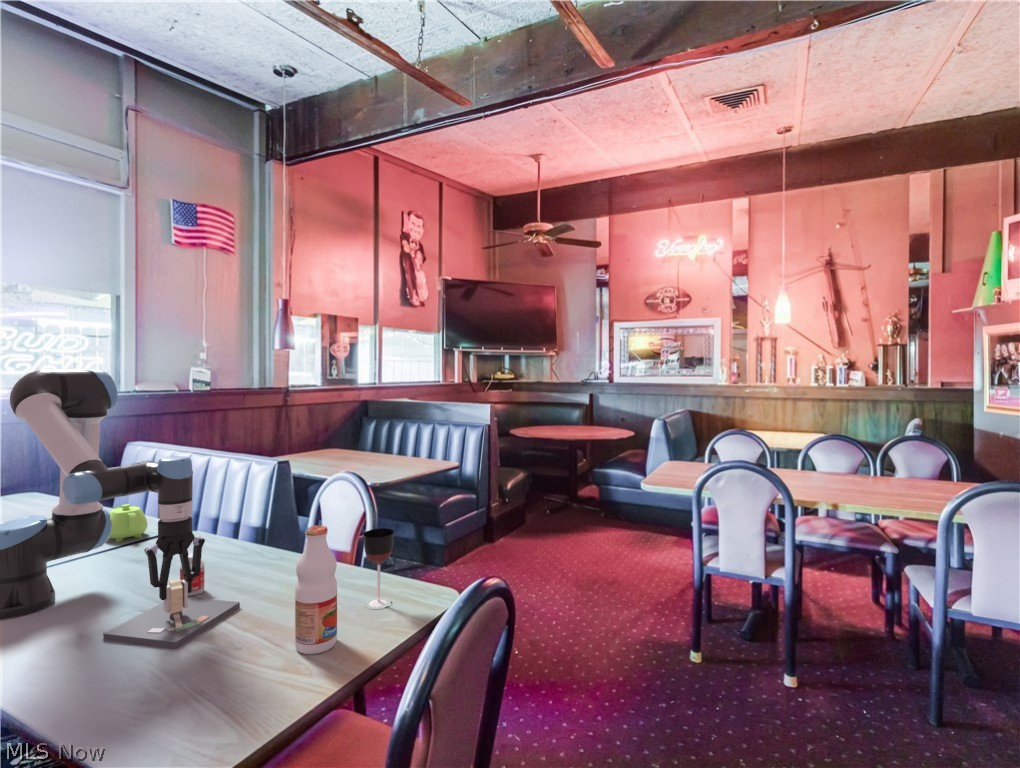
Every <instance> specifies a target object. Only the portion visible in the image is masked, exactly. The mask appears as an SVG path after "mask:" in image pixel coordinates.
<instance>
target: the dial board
mask: <svg viewBox="0 0 1020 768" xmlns="http://www.w3.org/2000/svg"><path fill="white" fill-rule="evenodd" d="M240 607H241V603H240V601H232V600H231V601H230V600H221V599H213V598H212V599H210V598H203V597H202V598H201V597H193V596H188V607H187V608H184V607H183V611H182V616H180V619H181V622H182V628H179V629H176V625H175V621H174V618H170V613H171V612H170V613H167V612H165V611H164V601H163V602H161V603H159V604H158V605H156V606H153V607H152V608H149V609H147V610H146V611H143V612H142V613H140V614H138V615H137V616H135V617H132V618H130V619H128V620H127V621H125V622H123V623H121V624H119V625H117V626H115V627H113V628H112V629H109V630H107V631H106V632H104V633H102V636H103V638H102V640H103V641H112V642H119V643H128V644H137V645H145V646H151V647H152V646H153V647H159V648H160V647H161V648H169V649H177V648H179V647H180V646H182V645H184V644H186V643H187V642H189V641H190V640H191V639H193V638H194V637H196V636H198V635H200V634H201V633H203V632H204V631H205V630H207V629H209V628H210V627H211V626H213V625H215V624H216V623H218V622H219V621H221V620H223V619H224V618H226V617H227V616H229V615H230V614H232V613H234V612H235V611H237V610H238V609H240Z"/></svg>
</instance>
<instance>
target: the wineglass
mask: <svg viewBox="0 0 1020 768" xmlns="http://www.w3.org/2000/svg"><path fill="white" fill-rule="evenodd" d="M394 539H395V531H394V530H393V529H392V528H385V527H383V528H381V527H380V528H374V529H369V530H367V531H365V532H364V533H363V545H364V552H365V553H364V554H365V556H366V559H367V560H368V561H369V562H371V563H373V564H376V565H377V566H376V567H377V569H376V570H377V575H376V576H377V578H376V579H377V580H376V581H377V582H376V583H377V585H376V586H377V588H376V592H377V593H376V595H377V596H376V597H377V598H376V599H377V600H373V601H371V602H370V603H369V605H370V606H372V607H374V606H375V607H379V606H382V605H385V604H386V603H387V601H385V600H382V599H381V600H380V598H381V564H383V563H384V562H385V561H387V560H388V559H389V558H390V557H391V555H392V552H393V548H394Z"/></svg>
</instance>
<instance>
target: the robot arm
mask: <svg viewBox="0 0 1020 768" xmlns="http://www.w3.org/2000/svg"><path fill="white" fill-rule="evenodd" d="M117 402H118V388H117V385H116V383H115V380H114V379H113V377H112V376H111V375H110V374H109V373H108V372H106V371H104V370H102V369H100V370H99V369H88V368H86V369H85V368H83V369H81V368H79V369H77V368H74V369H72V368H70V369H69V368H68V369H53V368H52V369H48V368H47V369H45V368H43V369H38V370H34V371H32V372H29V373H26V374H25V375H24V376H22V377H21V378H19V379H18V381H16V383H15V384H14V385H13V387H12V389H11V392H10V395H9V404H10V405H9V406H10V409H11V410H12V412H13V414H14V415H15V416H16V417H17V419H18V420H19V421H20V422H22V423H26V424H28V426H29V427H30V429H31V430H32V431H33V433H35V435H36V437H37V438H38V439H39V441H40V443H41V444H42V445H43V446H44V448H45V449H46V450H47V452H48V453H49V455H50V456H51V458H52V459H53V460H54V461H55V463H56V464H57V466H58V467H59V468H60V472H59V473H60V477H59V480H60V481H59V497H58V498H59V499H58V500H59V503H58V504H57V505H56V506H55V507H53V508H52V510H51V518H46V517H45V516H43V515H32V516H27V517H20V518H19V517H18V518H15V519H12V520H8V521H6V522H3V523H0V620H4V619H5V620H6V619H10V618H16V617H17V618H18V617H21V616H26V615H28V614H32V613H35V612H38V611H40V610H43V609H45V608H48V607H49V606H51V605H52V604H53V603H54V602H55V601H56V590H55V588H54V587H53V584H52V581H51V580H50V577H49V576H48V573H47V572H48V570H47V569H48V567H47V566H48V565H47V563H49V562H52V561H56V560H60V559H63V558H68V557H71V556H74V555H79V554H84V553H88V552H91V551H93V550H96V549H99V548H101V547H103V546H104V545H105V544H106V543H107V542H108V540H109V539H110V537H109V536H110V533H111V529H112V521H111V519H110V512H109V511H108V510H107V509H105V508H103V507H104V505H103V504H102V503H100V502H101V501H105V500H110V499H116V498H120V497H126V496H127V497H128V496H132V495H137V494H143V493H147V492H148V493H149V492H151V493H156V494H157V519H159V520H158V522H157V539H156V541H155V544H154V545H152V546H150V547H145V548H144V554H146V555H145V556H146V557H147V563H148V571H149V572H148V573H149V582H150V583H149V584H150V585H151V586H152V587H153V588H155V589H156V588H159V589H158V590H159V591H158V593H159V596H158V597H159V599H160V601H163V602H164V611H165V612H167V613H170V612H171V587H170V586H169V578H170V572H171V571H170V570H171V566H172V561H173V560H174V559H173V558H174V556H176V555H179V560H180V566H181V565H182V571H183V576H184V578H185V580H181V584H182V587H183V607H184V608H187V607H188V597H189V596H188V593H190V592H191V591H192V581H193V578H195V577H198V576H199V575H200V566H201V560H202V558H201V555H202V552H203V551H202V550H203V546H204V544H205V541H206V539H205V538H204V537H201V536H195V535H194V533H193V528H194V526H193V516H192V515H193V488H194V487H193V482H194V480H193V479H194V478H193V477H194V469H193V461H192V459H191V457H189V456H185V455H184V456H179V455H177V456H166V457H161V458H160V459H159V460H158V461H157V462H156V461H152V460H139V461H134V462H133V463H131V464H128V465H121V466H115V467H107V465H106V464H105V463H104V462H103V461H102V459H101V458H100V457H99V455H100V437H101V436H100V435H101V434H100V432H101V421H102V420H104V419H105V418H106V417H107V416H108V410H110V409H113V408H114V407H115V406H116V403H117ZM191 544H192V545H193V550H192V553H193V559H192V571H191V569H190V563H189V558H188V553H189V550H188V549H189V547H190V546H191ZM158 550H160V551H161V552H162V562H161V568H160V574H159V569H158V559H157V554H158Z"/></svg>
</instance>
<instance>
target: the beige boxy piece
mask: <svg viewBox="0 0 1020 768" xmlns="http://www.w3.org/2000/svg"><path fill="white" fill-rule="evenodd" d="M168 585H169V586H170V587H171V613H170V618H174V621H175V625H176V629H179V628H182V622H181V619H180V616H182V611H183V587H182V584H181V580H180V578H176V579H171V580H168Z"/></svg>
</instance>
